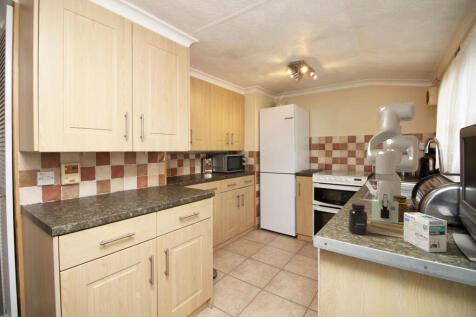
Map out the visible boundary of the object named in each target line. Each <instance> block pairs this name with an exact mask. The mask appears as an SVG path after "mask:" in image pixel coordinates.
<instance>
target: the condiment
mask: <svg viewBox="0 0 476 317" xmlns="http://www.w3.org/2000/svg"><path fill="white" fill-rule="evenodd" d="M393 201H396V202H398V203H399V204H398V223H397V224H398V225H404V213H408V201H407V196H404V195H401V196H399V195H395V196H393Z"/></svg>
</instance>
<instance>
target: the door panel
mask: <svg viewBox="0 0 476 317" xmlns="http://www.w3.org/2000/svg"><path fill="white" fill-rule="evenodd" d="M382 202H383V203H384V201H382ZM387 203H388V202H387ZM398 204H399V203H398V202H396V201H391V203H390V204H389V219H385V218H381V202H379V203H378V199H371V221H377V222H384V223H392V224H399V223H398ZM383 205H384V204H383Z"/></svg>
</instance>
